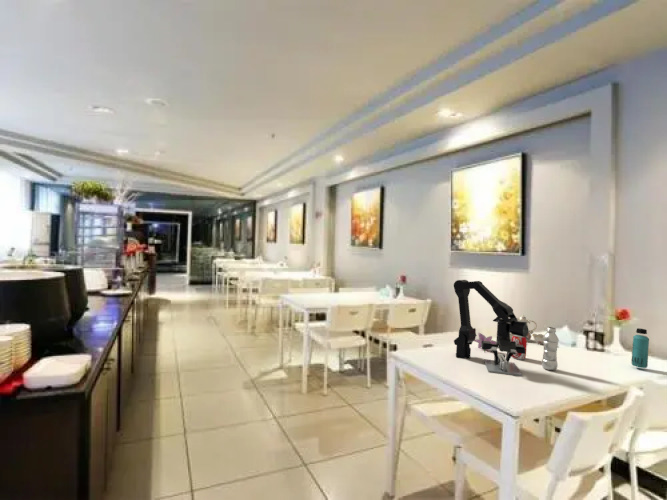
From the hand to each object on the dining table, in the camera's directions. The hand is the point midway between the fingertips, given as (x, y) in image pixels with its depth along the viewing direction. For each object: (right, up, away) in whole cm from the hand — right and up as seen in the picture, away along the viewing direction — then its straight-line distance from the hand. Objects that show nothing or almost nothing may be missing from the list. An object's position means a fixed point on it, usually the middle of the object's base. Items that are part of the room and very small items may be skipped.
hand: (501, 364), depth 181 cm
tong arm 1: (-1, 0, +1) cm, 2 cm away
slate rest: (0, -1, 0) cm, 1 cm away
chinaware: (+37, -2, +55) cm, 66 cm away
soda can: (+16, -2, +17) cm, 24 cm away
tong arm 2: (+1, -1, +1) cm, 2 cm away
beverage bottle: (+72, -5, +8) cm, 72 cm away
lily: (+4, -1, +29) cm, 30 cm away
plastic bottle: (+23, -3, +1) cm, 23 cm away
